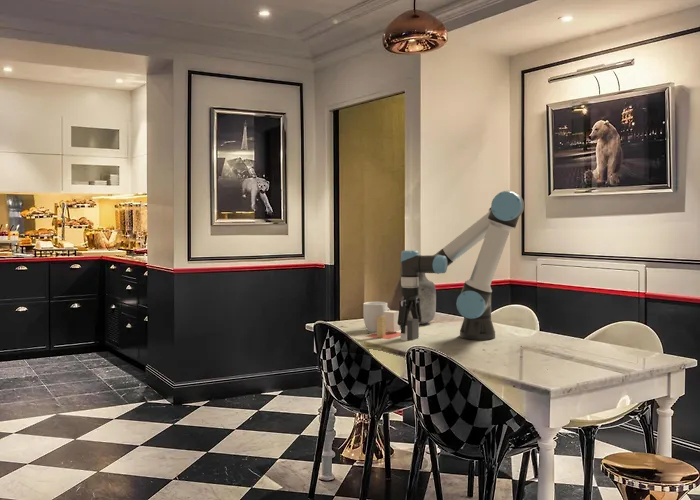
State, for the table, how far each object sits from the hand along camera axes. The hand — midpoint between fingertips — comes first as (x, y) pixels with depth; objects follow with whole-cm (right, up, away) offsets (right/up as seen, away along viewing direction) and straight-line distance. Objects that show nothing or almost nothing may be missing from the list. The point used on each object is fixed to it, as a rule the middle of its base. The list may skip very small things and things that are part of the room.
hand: (409, 338), depth 291 cm
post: (-12, 0, +4) cm, 13 cm away
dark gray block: (0, 0, 0) cm, 0 cm away
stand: (-9, 0, +9) cm, 13 cm away
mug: (-13, +1, +21) cm, 25 cm away
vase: (+8, +2, +42) cm, 43 cm away
